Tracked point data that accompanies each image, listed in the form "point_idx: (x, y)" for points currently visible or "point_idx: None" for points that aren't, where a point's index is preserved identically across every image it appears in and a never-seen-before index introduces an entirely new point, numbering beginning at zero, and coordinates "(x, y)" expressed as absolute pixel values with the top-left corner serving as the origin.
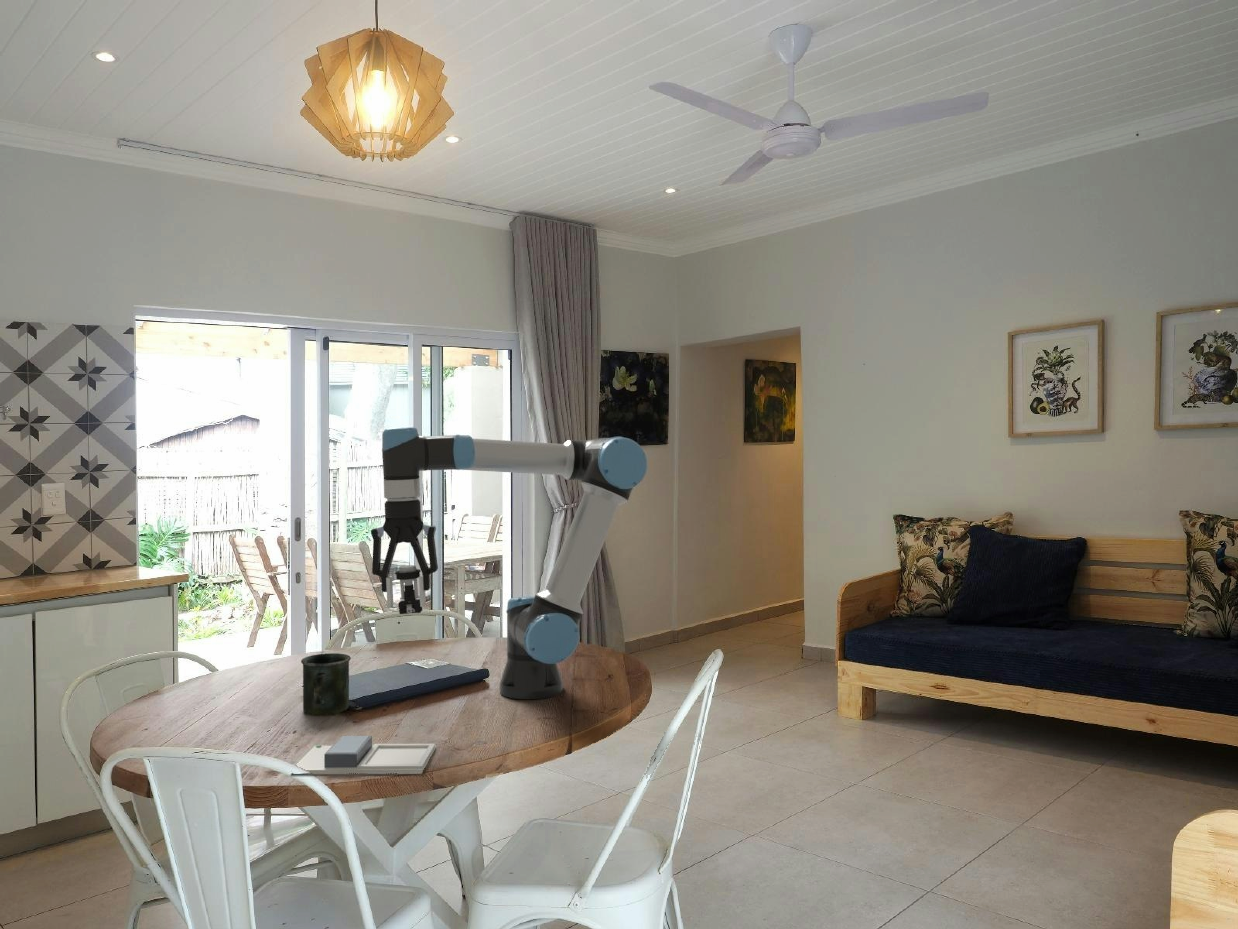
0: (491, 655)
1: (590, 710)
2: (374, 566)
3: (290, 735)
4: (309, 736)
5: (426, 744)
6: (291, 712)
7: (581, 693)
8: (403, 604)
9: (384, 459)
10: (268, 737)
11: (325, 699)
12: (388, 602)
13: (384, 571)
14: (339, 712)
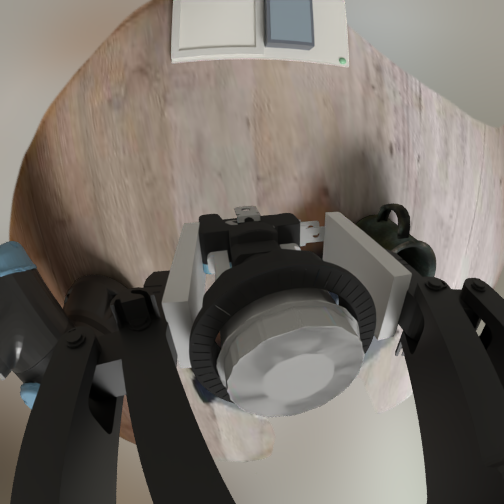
0: (215, 432)
1: (32, 256)
2: (500, 305)
3: (392, 134)
4: (369, 126)
5: (183, 53)
6: None
7: None
8: (275, 220)
9: None
10: (413, 130)
11: (379, 223)
12: (343, 219)
13: (442, 297)
14: None
